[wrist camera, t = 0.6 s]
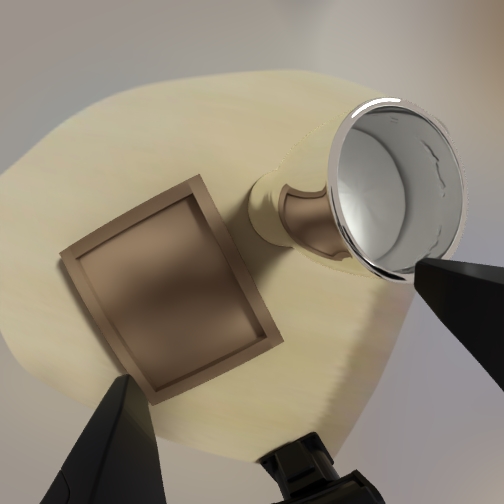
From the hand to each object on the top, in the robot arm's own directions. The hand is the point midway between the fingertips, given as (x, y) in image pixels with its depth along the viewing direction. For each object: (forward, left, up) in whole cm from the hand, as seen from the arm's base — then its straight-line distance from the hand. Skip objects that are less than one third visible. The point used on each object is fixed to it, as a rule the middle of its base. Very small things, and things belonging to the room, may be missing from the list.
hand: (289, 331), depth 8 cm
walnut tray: (0, +5, -16) cm, 16 cm away
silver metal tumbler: (+2, -6, -16) cm, 17 cm away
